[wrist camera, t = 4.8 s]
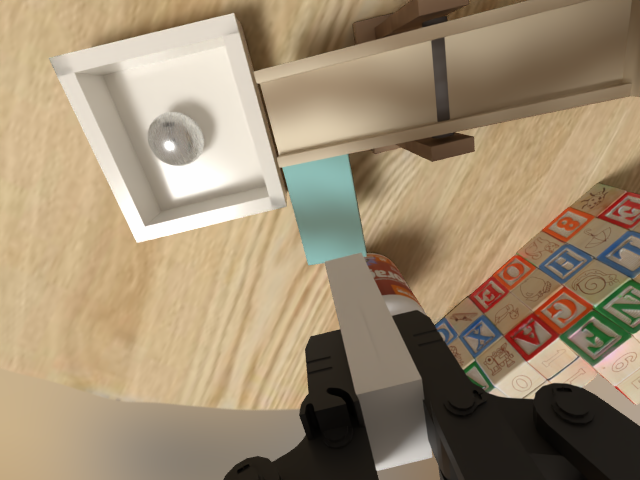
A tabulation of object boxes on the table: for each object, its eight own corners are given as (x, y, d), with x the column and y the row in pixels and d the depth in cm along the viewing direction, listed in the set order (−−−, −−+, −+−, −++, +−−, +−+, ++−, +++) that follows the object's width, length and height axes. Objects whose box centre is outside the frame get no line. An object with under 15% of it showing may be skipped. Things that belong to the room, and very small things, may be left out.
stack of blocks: (457, 364, 38) (531, 479, 26) (420, 335, 36) (483, 446, 24) (629, 222, 33) (810, 290, 21) (597, 179, 31) (779, 229, 19)
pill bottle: (404, 253, 32) (461, 328, 21) (391, 310, 34) (436, 402, 24) (338, 247, 31) (364, 323, 21) (328, 306, 33) (347, 400, 23)
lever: (260, 66, 20) (245, 64, 17) (638, -33, 16) (691, -54, 14) (310, 257, 25) (304, 279, 22) (608, 211, 21) (643, 230, 19)
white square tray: (85, 63, 24) (48, 58, 20) (241, 25, 24) (233, 12, 20) (156, 223, 28) (137, 242, 25) (286, 191, 28) (286, 206, 25)
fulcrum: (352, 24, 24) (388, -13, 16) (421, 7, 24) (495, -39, 16) (372, 152, 28) (410, 177, 19) (433, 137, 28) (497, 156, 19)
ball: (198, 105, 25) (149, 117, 25) (186, 107, 22) (129, 120, 22) (215, 155, 26) (168, 166, 26) (206, 163, 23) (153, 176, 23)
